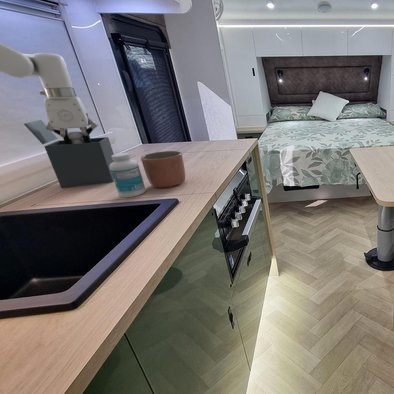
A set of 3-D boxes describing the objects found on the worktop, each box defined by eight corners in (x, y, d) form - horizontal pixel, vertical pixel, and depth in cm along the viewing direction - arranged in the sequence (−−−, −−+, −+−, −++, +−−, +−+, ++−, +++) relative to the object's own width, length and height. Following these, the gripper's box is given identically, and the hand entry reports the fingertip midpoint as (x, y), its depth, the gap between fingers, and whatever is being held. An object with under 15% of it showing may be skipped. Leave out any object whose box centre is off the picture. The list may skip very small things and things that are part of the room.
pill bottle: (123, 191, 99) (110, 152, 94) (148, 188, 101) (137, 150, 96) (115, 199, 92) (101, 158, 87) (142, 196, 95) (130, 156, 90)
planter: (175, 177, 114) (168, 149, 109) (195, 181, 108) (189, 153, 104) (141, 186, 103) (132, 156, 99) (162, 192, 98) (153, 161, 94)
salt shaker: (97, 163, 112) (85, 129, 107) (97, 167, 108) (85, 131, 103) (77, 166, 109) (64, 131, 104) (77, 170, 104) (63, 133, 100)
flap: (43, 144, 97) (42, 144, 97) (57, 138, 106) (56, 139, 106) (24, 123, 93) (23, 123, 93) (41, 119, 103) (39, 120, 102)
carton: (61, 188, 103) (44, 146, 97) (73, 179, 112) (58, 140, 106) (112, 181, 109) (99, 142, 103) (120, 174, 118) (108, 137, 112)
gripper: (22, 94, 92) (45, 151, 99) (88, 93, 99) (105, 146, 106) (33, 94, 98) (54, 147, 105) (95, 92, 105) (111, 143, 112)
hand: (80, 146), depth 105 cm, fingers closed on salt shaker, 4 cm apart
